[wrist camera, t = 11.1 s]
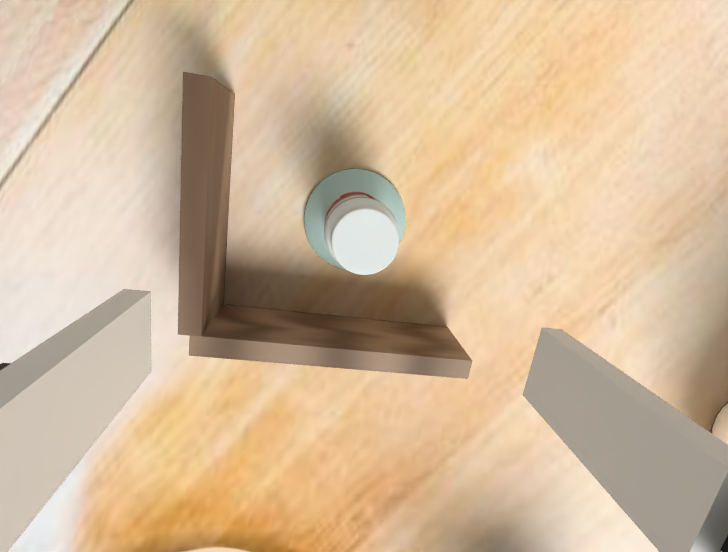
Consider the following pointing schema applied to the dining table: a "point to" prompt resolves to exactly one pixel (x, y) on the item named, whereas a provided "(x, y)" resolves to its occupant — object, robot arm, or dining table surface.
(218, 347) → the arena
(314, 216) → the disc
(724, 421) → the white vase
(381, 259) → the pill bottle
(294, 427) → the dining table surface
